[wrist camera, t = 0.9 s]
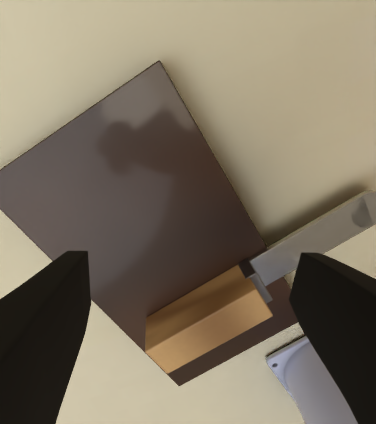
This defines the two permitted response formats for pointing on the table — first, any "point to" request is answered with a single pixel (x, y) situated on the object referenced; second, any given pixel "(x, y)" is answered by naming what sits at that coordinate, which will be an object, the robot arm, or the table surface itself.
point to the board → (140, 210)
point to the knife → (246, 288)
